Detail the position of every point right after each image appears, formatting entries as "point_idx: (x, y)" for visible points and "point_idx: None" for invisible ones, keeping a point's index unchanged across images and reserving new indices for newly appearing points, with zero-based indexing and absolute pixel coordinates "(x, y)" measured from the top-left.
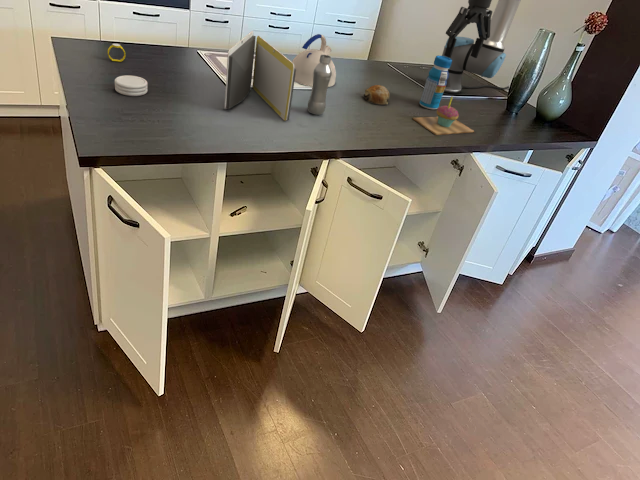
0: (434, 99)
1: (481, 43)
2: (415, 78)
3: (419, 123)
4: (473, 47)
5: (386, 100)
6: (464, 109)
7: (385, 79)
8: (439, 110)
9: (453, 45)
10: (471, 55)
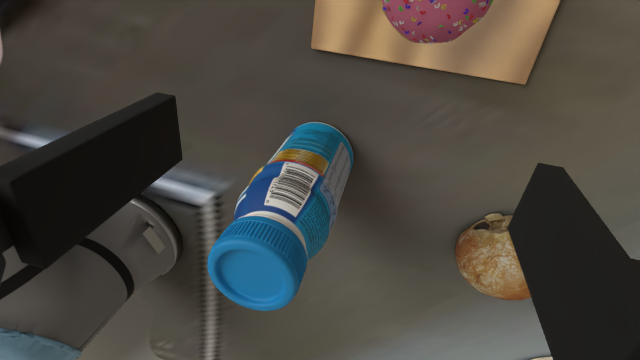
0: (328, 143)
1: (41, 155)
2: (189, 298)
3: (545, 33)
4: (133, 196)
5: (507, 223)
6: (179, 89)
7: (300, 324)
8: (487, 4)
9: (620, 255)
10: (177, 151)
